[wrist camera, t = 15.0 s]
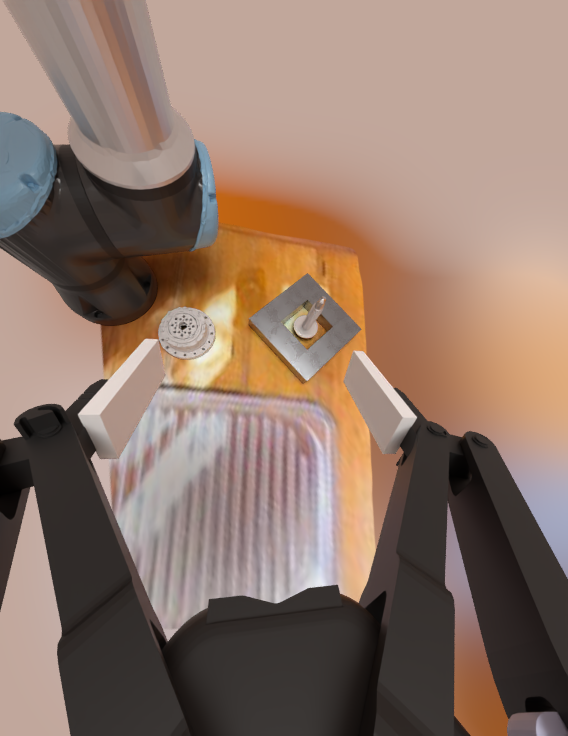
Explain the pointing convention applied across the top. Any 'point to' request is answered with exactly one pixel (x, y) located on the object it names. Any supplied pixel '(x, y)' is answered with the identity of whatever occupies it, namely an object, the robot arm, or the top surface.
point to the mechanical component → (186, 333)
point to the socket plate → (283, 340)
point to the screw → (309, 320)
